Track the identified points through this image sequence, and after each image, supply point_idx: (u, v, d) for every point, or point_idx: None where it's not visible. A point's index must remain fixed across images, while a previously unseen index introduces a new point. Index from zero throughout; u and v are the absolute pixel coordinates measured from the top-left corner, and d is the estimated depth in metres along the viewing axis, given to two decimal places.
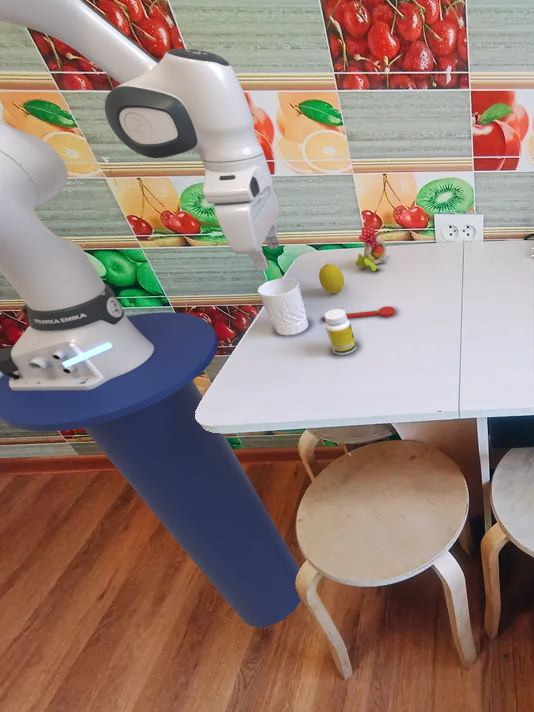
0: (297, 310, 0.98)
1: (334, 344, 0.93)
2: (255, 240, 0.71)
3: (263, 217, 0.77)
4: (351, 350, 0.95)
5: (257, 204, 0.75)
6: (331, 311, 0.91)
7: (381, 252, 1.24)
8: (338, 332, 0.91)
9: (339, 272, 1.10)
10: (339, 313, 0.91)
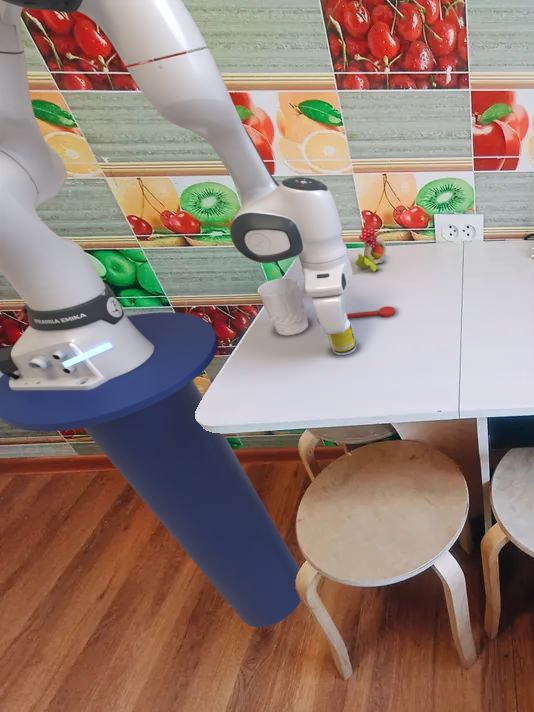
0: (297, 310, 0.98)
1: (334, 345, 0.93)
2: (343, 324, 0.87)
3: (344, 300, 0.92)
4: (351, 350, 0.95)
5: None
6: None
7: (381, 252, 1.24)
8: (339, 333, 0.91)
9: None
10: None
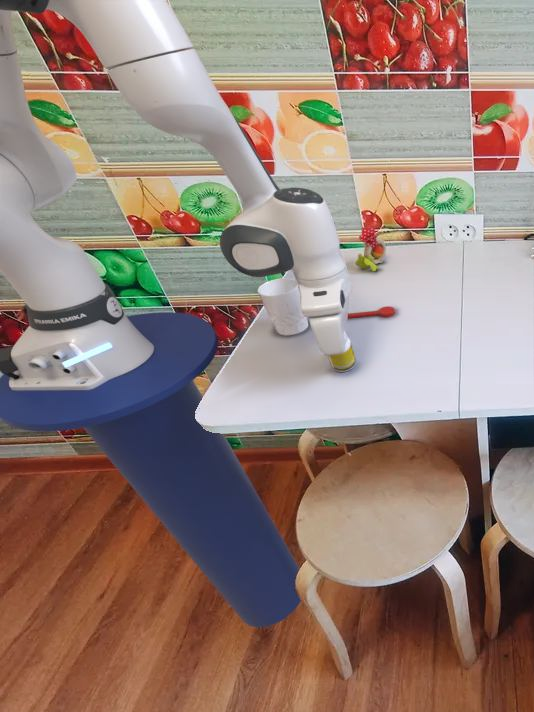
0: (297, 310, 0.98)
1: (334, 364, 0.88)
2: (343, 344, 0.81)
3: (343, 317, 0.87)
4: (351, 367, 0.90)
5: None
6: None
7: (381, 252, 1.24)
8: (340, 355, 0.85)
9: None
10: None
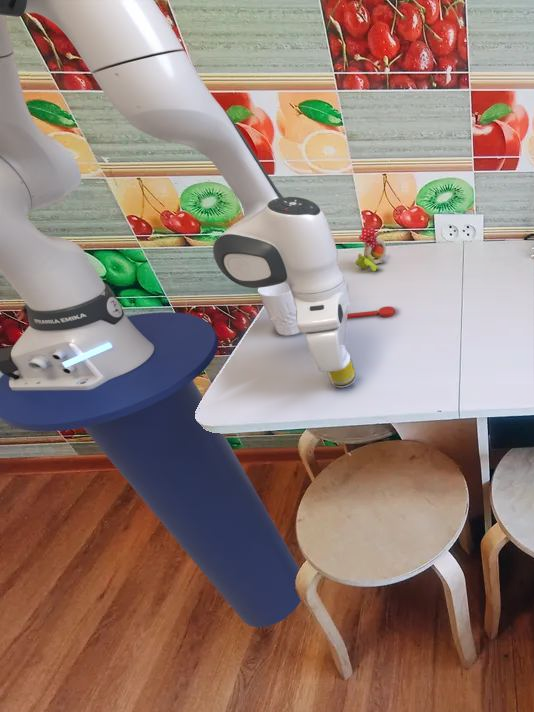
0: None
1: (334, 380, 0.84)
2: (341, 360, 0.77)
3: (341, 331, 0.83)
4: (352, 381, 0.87)
5: None
6: None
7: (381, 252, 1.24)
8: (340, 370, 0.82)
9: None
10: None
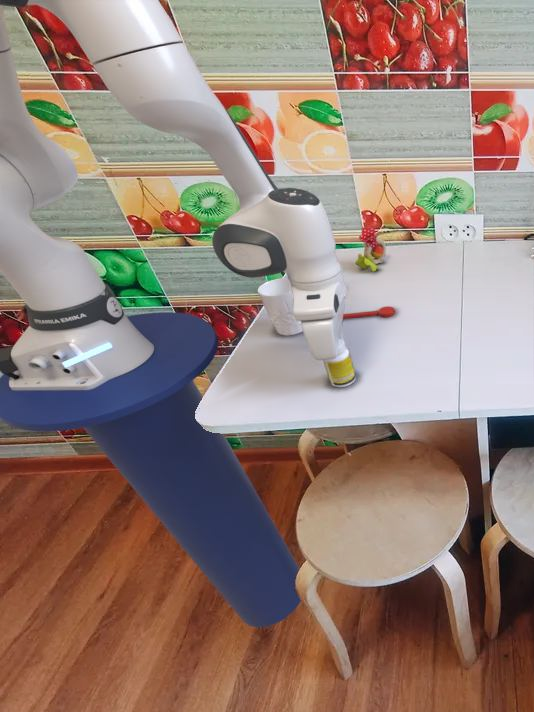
0: None
1: (333, 377, 0.85)
2: (335, 349, 0.79)
3: (337, 321, 0.85)
4: (352, 381, 0.87)
5: None
6: None
7: (381, 252, 1.24)
8: (339, 363, 0.83)
9: None
10: None
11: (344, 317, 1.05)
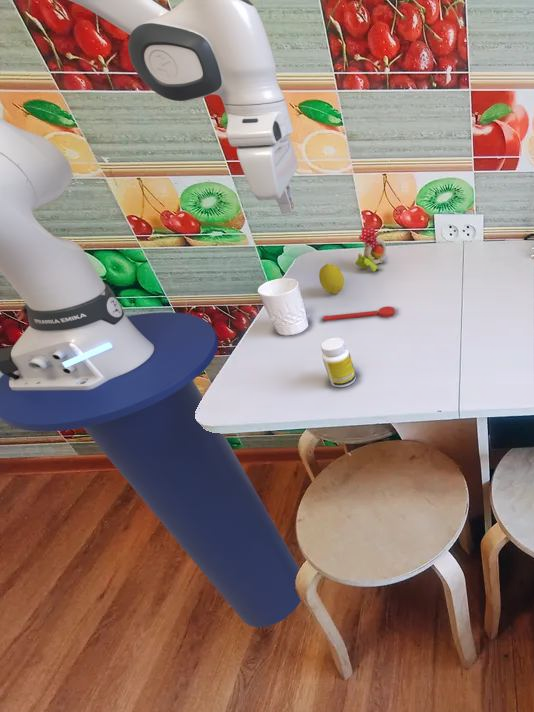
0: (297, 310, 0.98)
1: (333, 377, 0.85)
2: (277, 185, 0.71)
3: (284, 167, 0.77)
4: (352, 381, 0.87)
5: (278, 152, 0.75)
6: (327, 341, 0.83)
7: (381, 252, 1.24)
8: (339, 363, 0.83)
9: (339, 272, 1.10)
10: (336, 342, 0.83)
11: (344, 317, 1.05)
